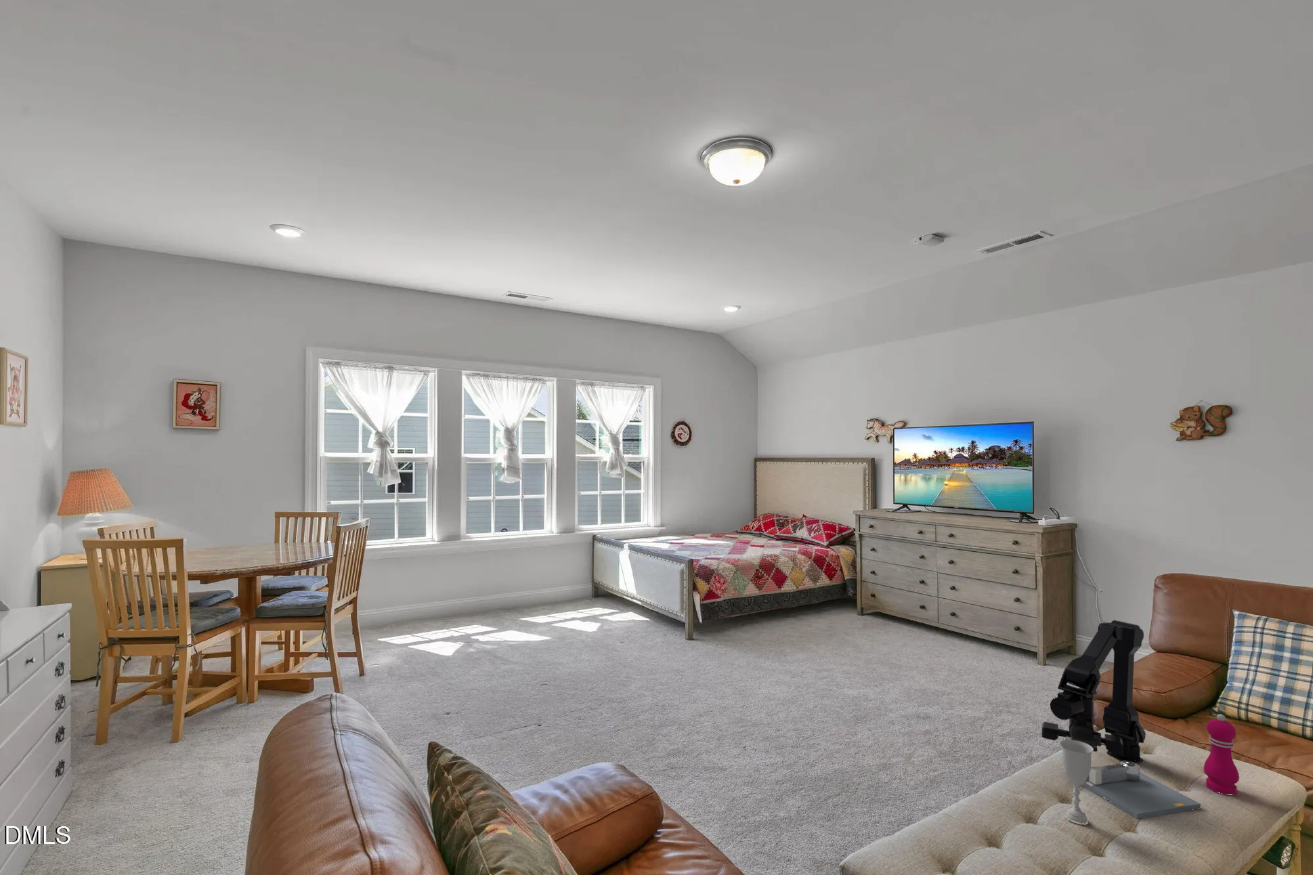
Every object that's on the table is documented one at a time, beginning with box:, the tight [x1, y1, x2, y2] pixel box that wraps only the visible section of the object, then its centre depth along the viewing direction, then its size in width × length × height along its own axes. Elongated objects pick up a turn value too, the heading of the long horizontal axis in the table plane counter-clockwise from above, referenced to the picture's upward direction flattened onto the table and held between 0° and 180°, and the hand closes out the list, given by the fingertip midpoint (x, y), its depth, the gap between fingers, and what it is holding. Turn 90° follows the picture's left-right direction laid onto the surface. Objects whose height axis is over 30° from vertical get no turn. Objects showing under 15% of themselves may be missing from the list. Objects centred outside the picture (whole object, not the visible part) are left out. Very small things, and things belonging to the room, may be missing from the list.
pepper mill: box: [1203, 714, 1240, 795], centre depth 174 cm, size 7×7×20 cm
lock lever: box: [1089, 760, 1141, 785], centre depth 176 cm, size 15×4×4 cm, turn 103°
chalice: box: [1059, 739, 1094, 824], centre depth 160 cm, size 7×7×18 cm
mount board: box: [1081, 771, 1202, 820], centre depth 173 cm, size 20×20×1 cm
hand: (1081, 768), depth 180 cm, fingers closed
